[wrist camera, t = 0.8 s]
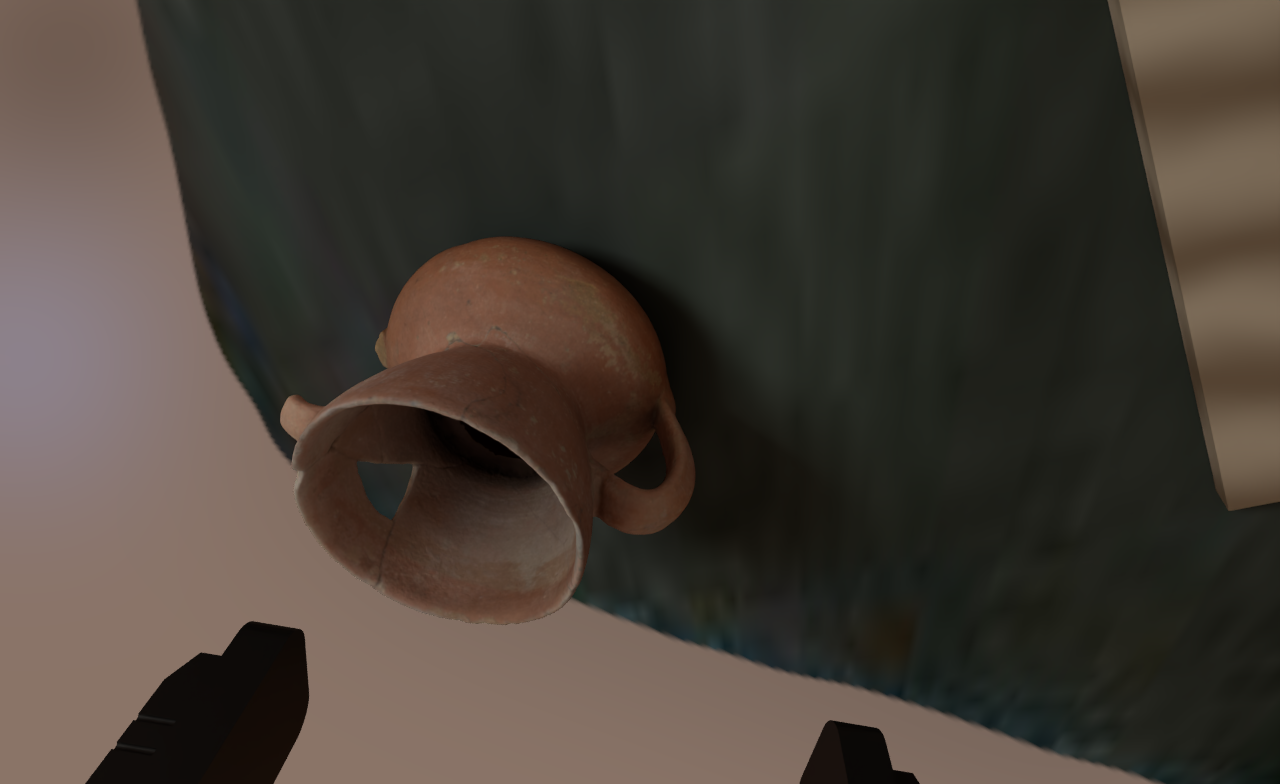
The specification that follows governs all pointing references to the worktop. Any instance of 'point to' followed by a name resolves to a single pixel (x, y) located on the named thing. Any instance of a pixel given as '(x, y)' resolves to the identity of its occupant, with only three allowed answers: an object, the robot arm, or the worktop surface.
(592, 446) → the ceramic jug
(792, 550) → the worktop surface
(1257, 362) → the birch board
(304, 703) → the robot arm
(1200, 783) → the worktop surface
